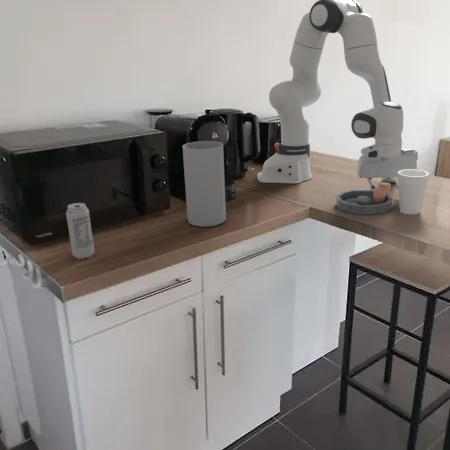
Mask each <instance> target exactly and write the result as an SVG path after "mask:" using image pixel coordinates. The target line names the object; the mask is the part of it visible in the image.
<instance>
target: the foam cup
mask: <svg viewBox="0 0 450 450" xmlns="http://www.w3.org/2000/svg"><path fill="white" fill-rule="evenodd" d="M429 178H430V173H429V172H428V171H425V170H422V169H417V170H415V169H405V170H400V171H398V178H397V183H398V205H399V206H398V207H399V212H400V213H402V214H404V215H410V216H411V215H418V214H419V213H421V209H422V205H423V201H424V197H425V193H426V190H427V184H428V182H429Z"/></svg>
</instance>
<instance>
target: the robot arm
mask: <svg viewBox="0 0 450 450" xmlns="http://www.w3.org/2000/svg"><path fill="white" fill-rule="evenodd" d="M297 27H298V28H297V30H296V33H295V38H294V39H293V44H292V47H291V53H290V56H289V64H290V66H291V67H292V79H291V80H285V81H282V82H279V83H277V84H275V85H274V86H273V87H272V88H271V89H270V91H269V93H268V100H269V103H270V105H271V107H272V108H273V109H275V111H276V113H277V116H278V119H279V124H280V135H281V136H280V140H281V141H280V143H278V142H276V143H274V148H275V151H276V152H275V153H274V154H273V155H272V156H270V157H269V158H267V160H265V161H264V163H263V166H262V171H260V172H258V174H257V175H256V177H257V178H256V180H257V181H259V182H260V183H264V184H268V183H269V184H300V183H302V182H305V181H309V180H311V179H312V178H313V176H312V172H311V166H310V154H311V144H310V143H309V141H310V139H309V138H310V123H309V122H308V121H307V120H306V119H305V117H304V114H303V108H306V107H309V106H312V105H313V104H315V103H317V101H319V100H320V98H321V93H322V88H321V86H320V85H321V84H319V82H318V73H319V72H318V69H319V65H320V61H321V59H322V58H321V57H322V54H323V49H324V46H325V42H326V39H327V37H328V35H329V34H336V33H338V34H339V35H340V36H341V38H342V41H343V50H344V51H343V52H344V55H343V56H344V61H345V64H346V67H347V69H348V70H349V72H351V73H352V74H353V75H356V76H357V77H360V78H361V79H363V80H365V82H366V83H367V84H368V85H369V88H370V93H371V98H372V99H371V100H372V103H373V107H371V108H370V109H365V110H362V111H360V112H358V113H356V114H354V116H353V117H352V120H351V122H350V123H351V125H350V126H351V131H352V133H353V135H354V136H355V137H356V138H359V139H362V140H363V139H365V140H366V139H370V138H371V139H374V144H372V145H369V146H367V147H363V148H361V149H360V154H361V156H360V157H359V158H358V161H357V166H356V175H357V176H358V178H360V179H366V180H367V182H368V184H369V186H368V187H369V190H371V191H373V190H374V188H375V187H376V185H375V184H374V183H372V181H373V179H375V178H377V179H378V178H381V177H398V171H400V170H405V169H415V170H418V165H417V163H418V162H417V161H418V159H419V152H418V151H417V150H415V149H412V148H411V149H402V147H403V146H402V145H403V139H402V133H403V129H404V110H403V107H402V105H400V103H397V102H393V101H392V100H391V99H392V98H391V94H390V89H389V84H388V79H387V73H386V70H385V68H384V66H383V63H382V62H381V58H380V55H379V47H378V40H377V39H378V38H377V33H376V29H375V25H374V21H373V18H372V17H371V15H369V14H367V13H364V11H363V8H362V6H361V4H360V3H359V2H358V1H356V0H317V1H316V2H314V4H313V5H312V6H311V8H310V10H309V12H307V13H305V14H304V15H303V17H302V18H301V21H300V22H299V26H297ZM395 183H396V186H395V187H396V189H398V182H395ZM398 190H399V189H398Z"/></svg>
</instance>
